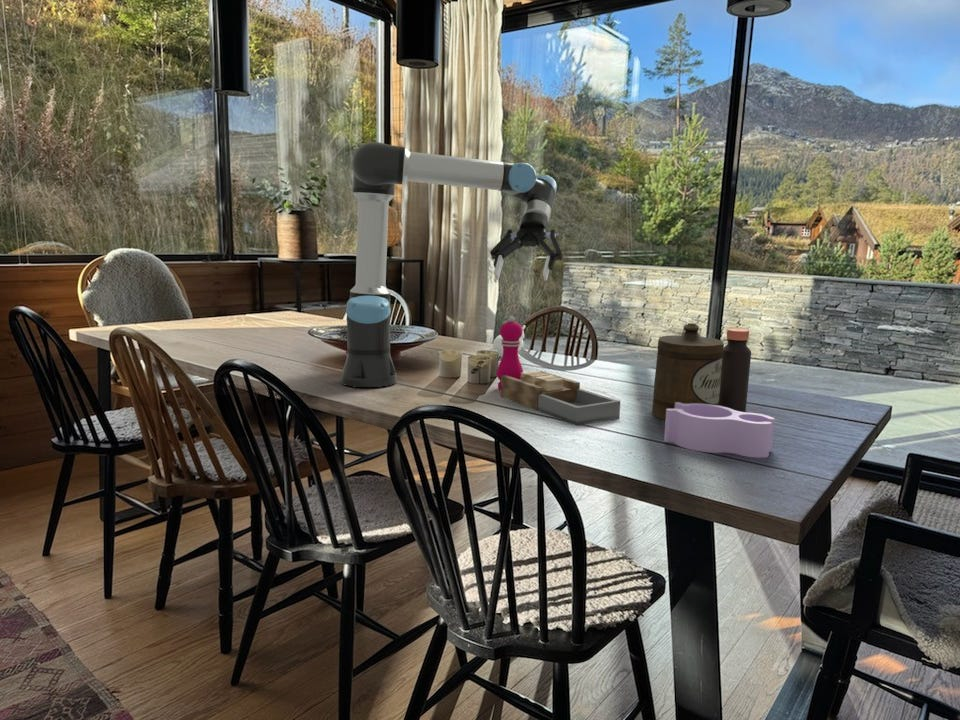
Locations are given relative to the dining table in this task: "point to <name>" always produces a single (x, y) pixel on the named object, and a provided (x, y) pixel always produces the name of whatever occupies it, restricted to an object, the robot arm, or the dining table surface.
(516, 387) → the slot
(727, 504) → the dining table surface
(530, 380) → the chip
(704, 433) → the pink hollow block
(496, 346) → the rabbit
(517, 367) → the pepper mill
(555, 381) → the chip
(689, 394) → the wooden container
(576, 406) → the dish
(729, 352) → the bottle
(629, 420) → the dining table surface
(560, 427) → the dining table surface
